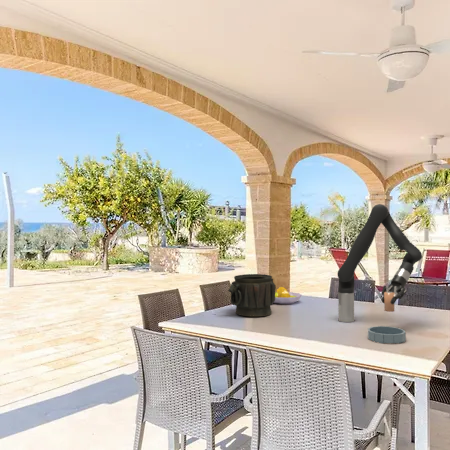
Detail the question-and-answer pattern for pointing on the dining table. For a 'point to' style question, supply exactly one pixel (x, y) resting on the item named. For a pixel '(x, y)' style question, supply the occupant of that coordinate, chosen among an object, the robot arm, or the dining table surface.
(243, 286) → the vessel
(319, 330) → the dining table surface
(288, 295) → the fruit bowl
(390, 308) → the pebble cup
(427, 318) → the dining table surface
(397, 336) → the bowl
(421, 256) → the robot arm
